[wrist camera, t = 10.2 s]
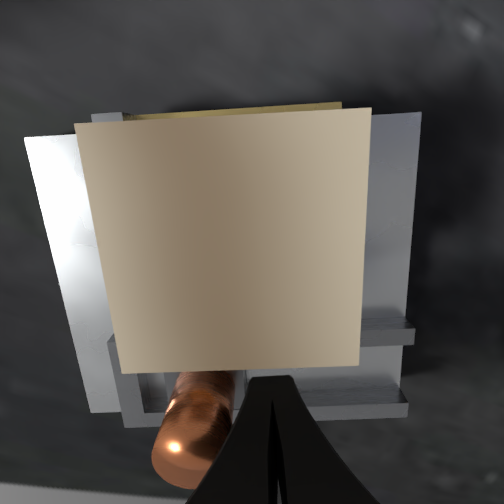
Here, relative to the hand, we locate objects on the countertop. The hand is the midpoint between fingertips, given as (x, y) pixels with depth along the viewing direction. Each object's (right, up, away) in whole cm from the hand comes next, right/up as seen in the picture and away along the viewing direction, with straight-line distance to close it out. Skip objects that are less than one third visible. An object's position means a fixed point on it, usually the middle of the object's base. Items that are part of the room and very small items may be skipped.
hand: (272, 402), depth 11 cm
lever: (-2, 0, +2) cm, 3 cm away
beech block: (-1, +6, 0) cm, 6 cm away
